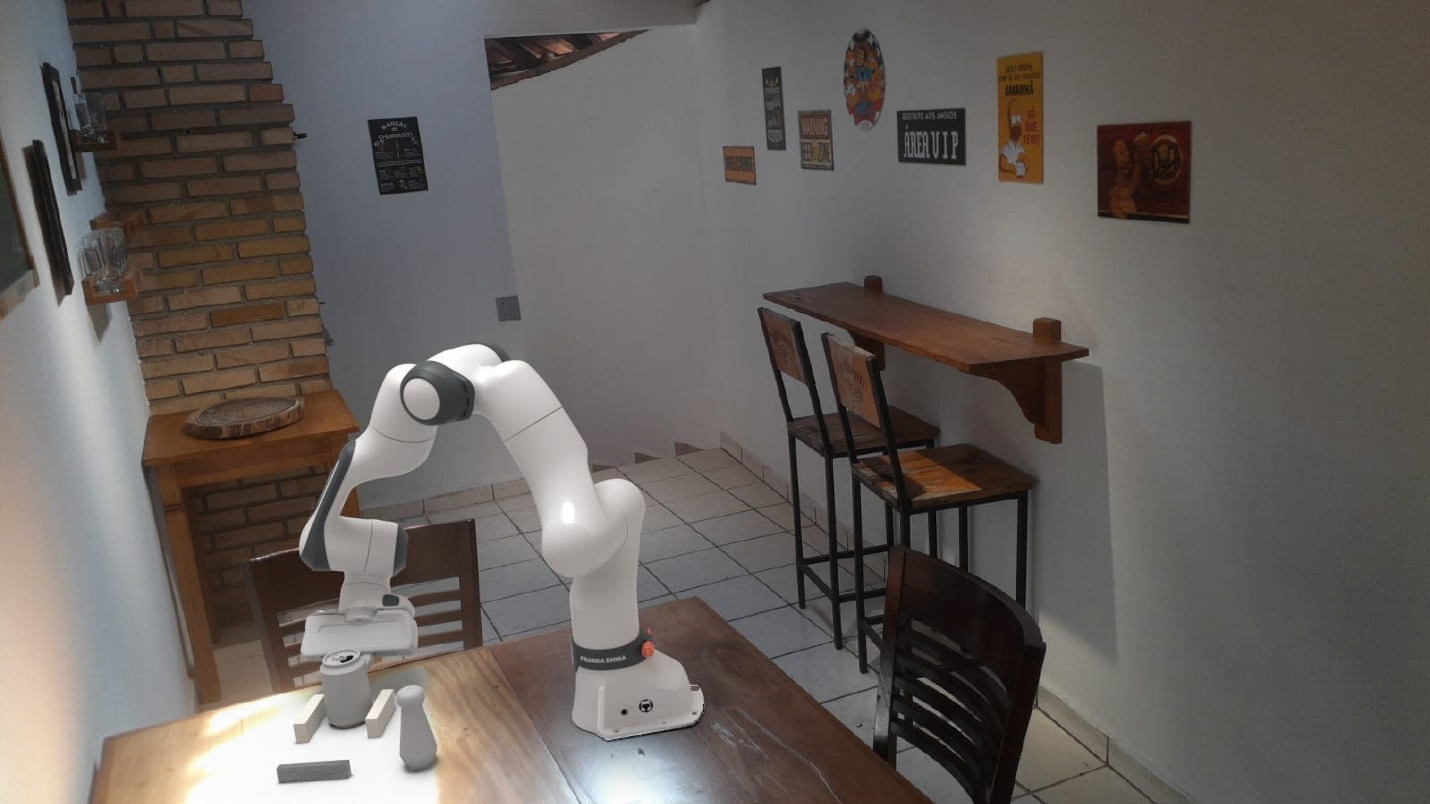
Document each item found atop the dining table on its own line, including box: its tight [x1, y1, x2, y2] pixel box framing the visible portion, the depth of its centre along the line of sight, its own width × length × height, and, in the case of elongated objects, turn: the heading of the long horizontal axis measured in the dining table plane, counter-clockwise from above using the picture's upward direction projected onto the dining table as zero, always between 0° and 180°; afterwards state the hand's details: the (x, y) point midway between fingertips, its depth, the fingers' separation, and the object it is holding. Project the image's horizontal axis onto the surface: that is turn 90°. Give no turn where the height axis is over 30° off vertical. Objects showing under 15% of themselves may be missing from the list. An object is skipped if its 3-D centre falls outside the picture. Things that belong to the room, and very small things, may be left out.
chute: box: [292, 688, 397, 744], centre depth 185 cm, size 14×10×4 cm
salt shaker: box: [395, 684, 438, 771], centre depth 170 cm, size 6×6×13 cm
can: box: [319, 648, 373, 729], centre depth 186 cm, size 8×8×12 cm
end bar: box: [276, 759, 352, 784], centre depth 169 cm, size 11×1×2 cm, turn 91°
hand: (355, 681), depth 190 cm, fingers closed
